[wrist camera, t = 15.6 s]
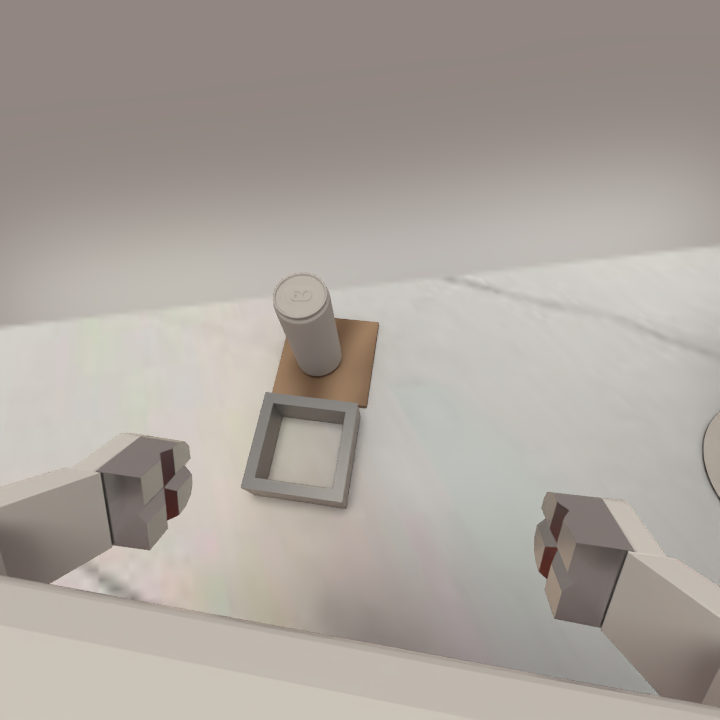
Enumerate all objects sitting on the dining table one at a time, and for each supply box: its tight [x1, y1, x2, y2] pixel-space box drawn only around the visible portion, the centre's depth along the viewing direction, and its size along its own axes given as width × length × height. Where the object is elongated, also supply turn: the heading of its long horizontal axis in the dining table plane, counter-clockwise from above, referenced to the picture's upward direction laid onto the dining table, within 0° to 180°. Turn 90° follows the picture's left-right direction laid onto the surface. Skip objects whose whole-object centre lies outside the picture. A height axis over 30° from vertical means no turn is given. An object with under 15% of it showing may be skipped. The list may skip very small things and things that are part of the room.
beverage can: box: [273, 273, 342, 376], centre depth 40 cm, size 5×5×12 cm
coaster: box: [272, 318, 379, 408], centre depth 46 cm, size 10×10×1 cm
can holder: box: [241, 392, 360, 508], centre depth 40 cm, size 9×9×4 cm
